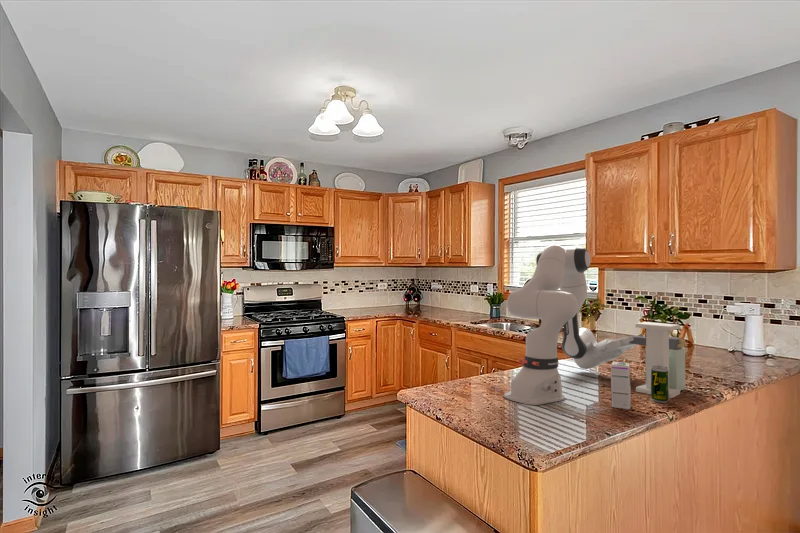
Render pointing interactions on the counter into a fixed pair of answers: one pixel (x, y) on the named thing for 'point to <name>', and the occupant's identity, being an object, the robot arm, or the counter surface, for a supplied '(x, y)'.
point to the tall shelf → (656, 351)
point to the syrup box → (620, 385)
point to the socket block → (676, 369)
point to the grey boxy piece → (673, 342)
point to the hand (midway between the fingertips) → (638, 336)
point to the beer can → (659, 384)
